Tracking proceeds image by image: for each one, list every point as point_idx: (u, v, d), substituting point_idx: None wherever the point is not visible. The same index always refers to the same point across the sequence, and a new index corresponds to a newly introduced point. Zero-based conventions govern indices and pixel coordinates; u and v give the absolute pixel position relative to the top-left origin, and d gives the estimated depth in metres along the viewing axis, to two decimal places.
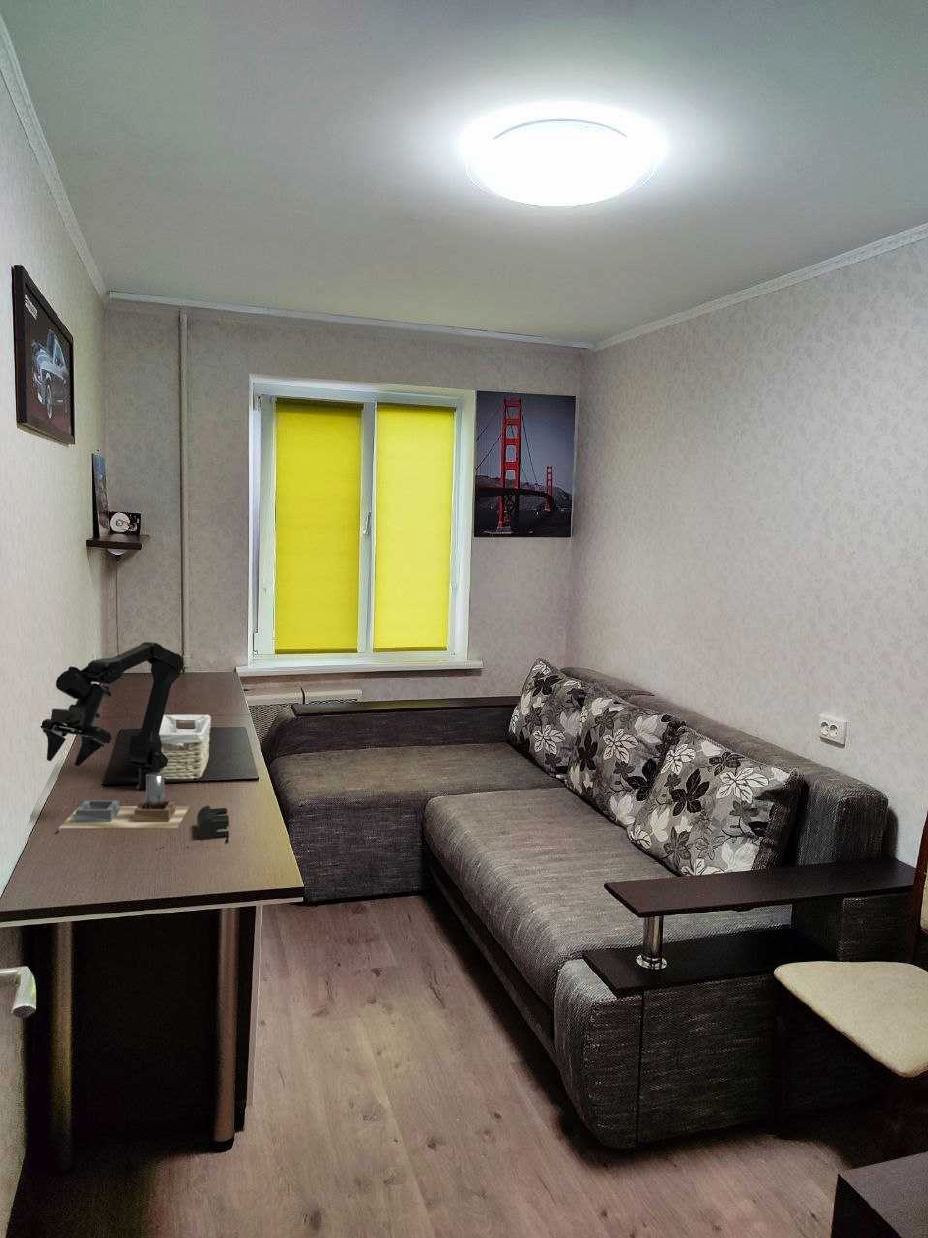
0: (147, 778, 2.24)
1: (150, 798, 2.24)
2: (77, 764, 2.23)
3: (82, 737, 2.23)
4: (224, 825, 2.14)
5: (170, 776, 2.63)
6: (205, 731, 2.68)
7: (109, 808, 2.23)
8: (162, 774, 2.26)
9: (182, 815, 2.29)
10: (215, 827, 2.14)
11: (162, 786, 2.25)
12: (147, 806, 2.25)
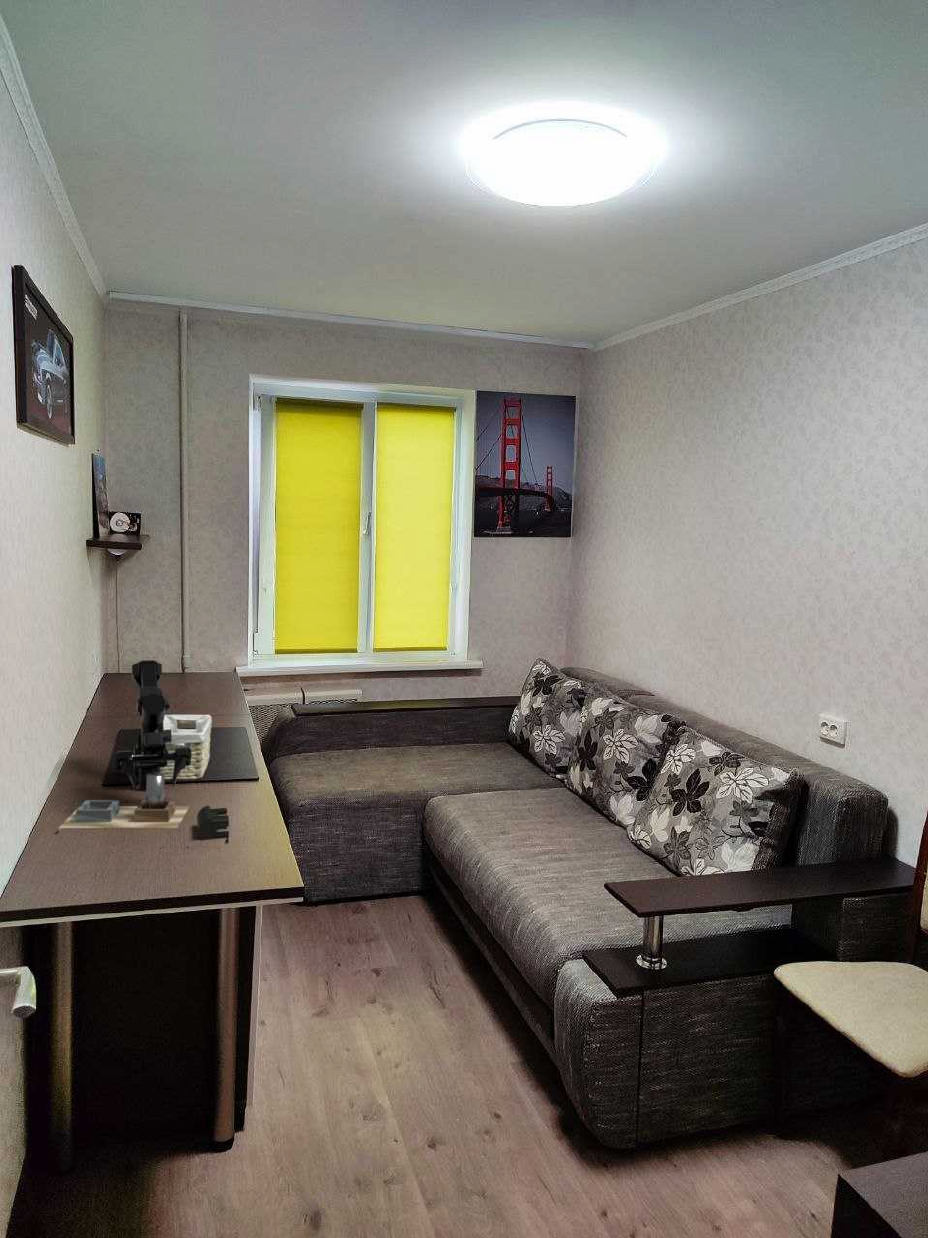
0: (147, 778, 2.24)
1: (150, 798, 2.24)
2: (174, 784, 2.31)
3: (176, 757, 2.32)
4: (224, 825, 2.14)
5: (171, 776, 2.63)
6: (206, 731, 2.68)
7: (109, 808, 2.23)
8: (162, 774, 2.26)
9: (182, 815, 2.29)
10: (215, 827, 2.14)
11: (162, 786, 2.25)
12: (147, 806, 2.25)
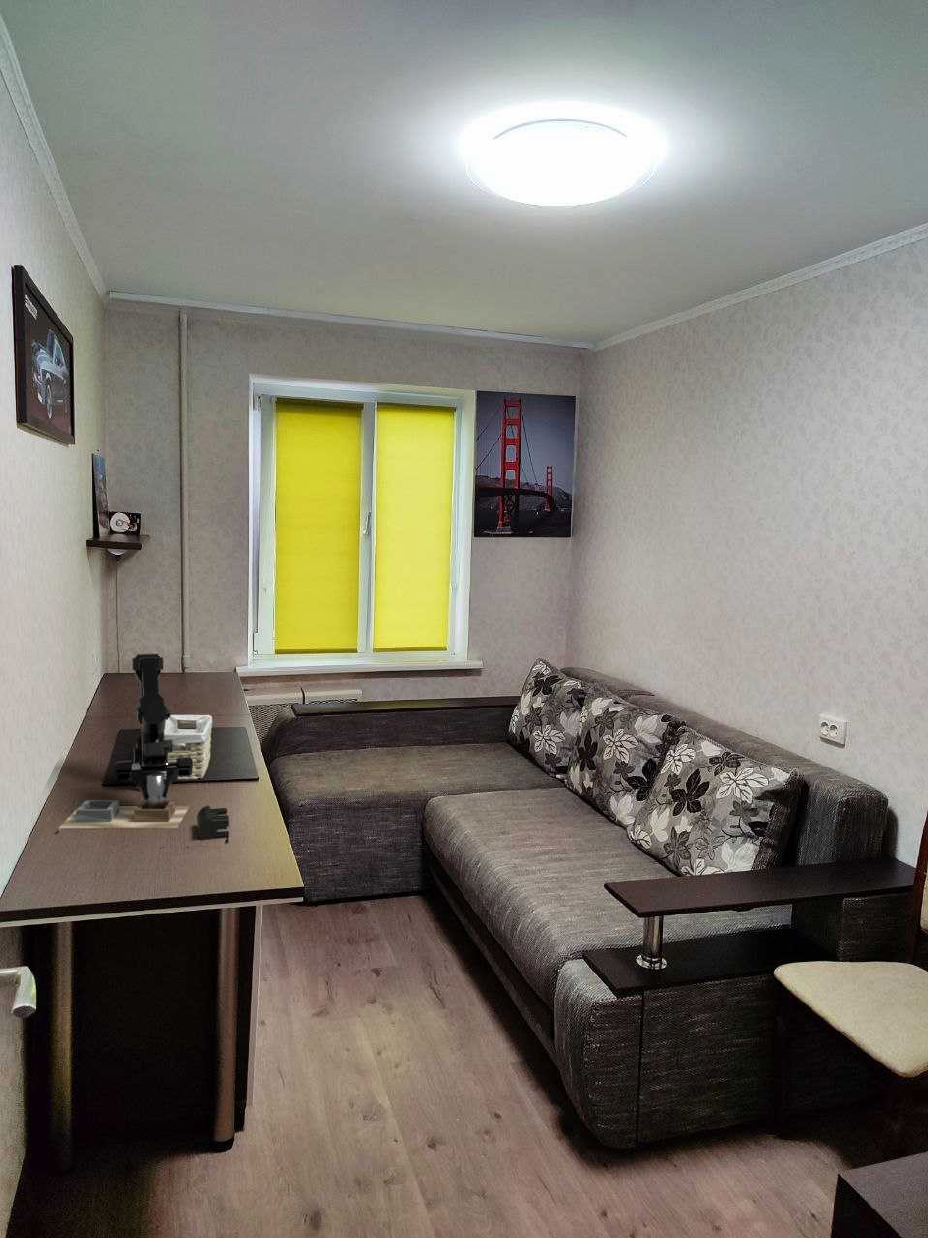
0: (147, 778, 2.24)
1: (150, 798, 2.24)
2: (166, 795, 2.26)
3: (168, 768, 2.28)
4: (224, 825, 2.14)
5: None
6: (207, 731, 2.68)
7: (109, 808, 2.23)
8: (162, 774, 2.26)
9: (182, 815, 2.29)
10: (215, 827, 2.14)
11: (162, 786, 2.25)
12: (147, 806, 2.25)
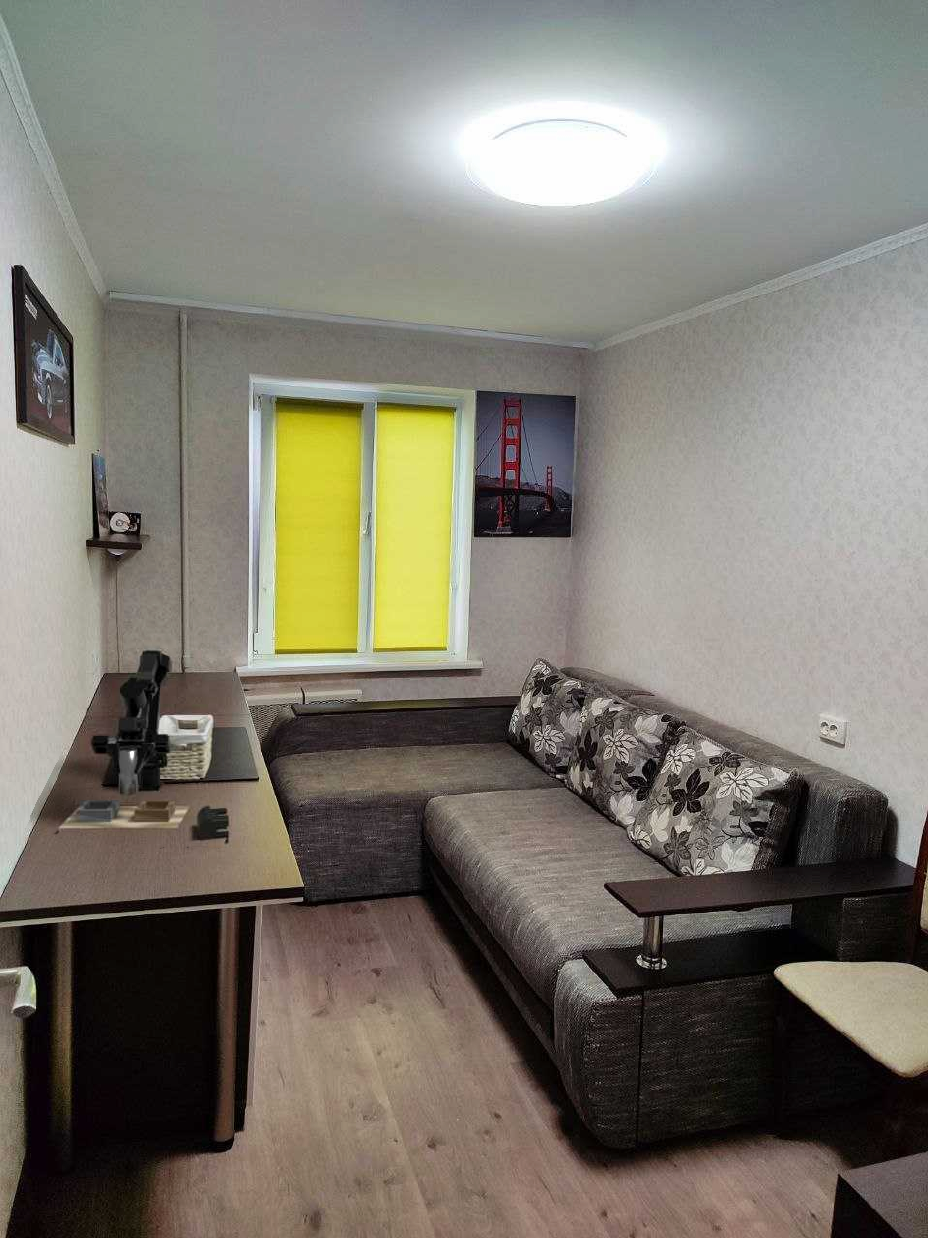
0: (119, 753, 2.22)
1: (121, 773, 2.22)
2: (137, 772, 2.23)
3: (142, 744, 2.25)
4: (224, 825, 2.14)
5: (173, 776, 2.62)
6: (208, 731, 2.67)
7: (109, 808, 2.23)
8: (135, 750, 2.23)
9: (182, 815, 2.29)
10: (215, 827, 2.14)
11: (133, 762, 2.23)
12: (119, 781, 2.23)
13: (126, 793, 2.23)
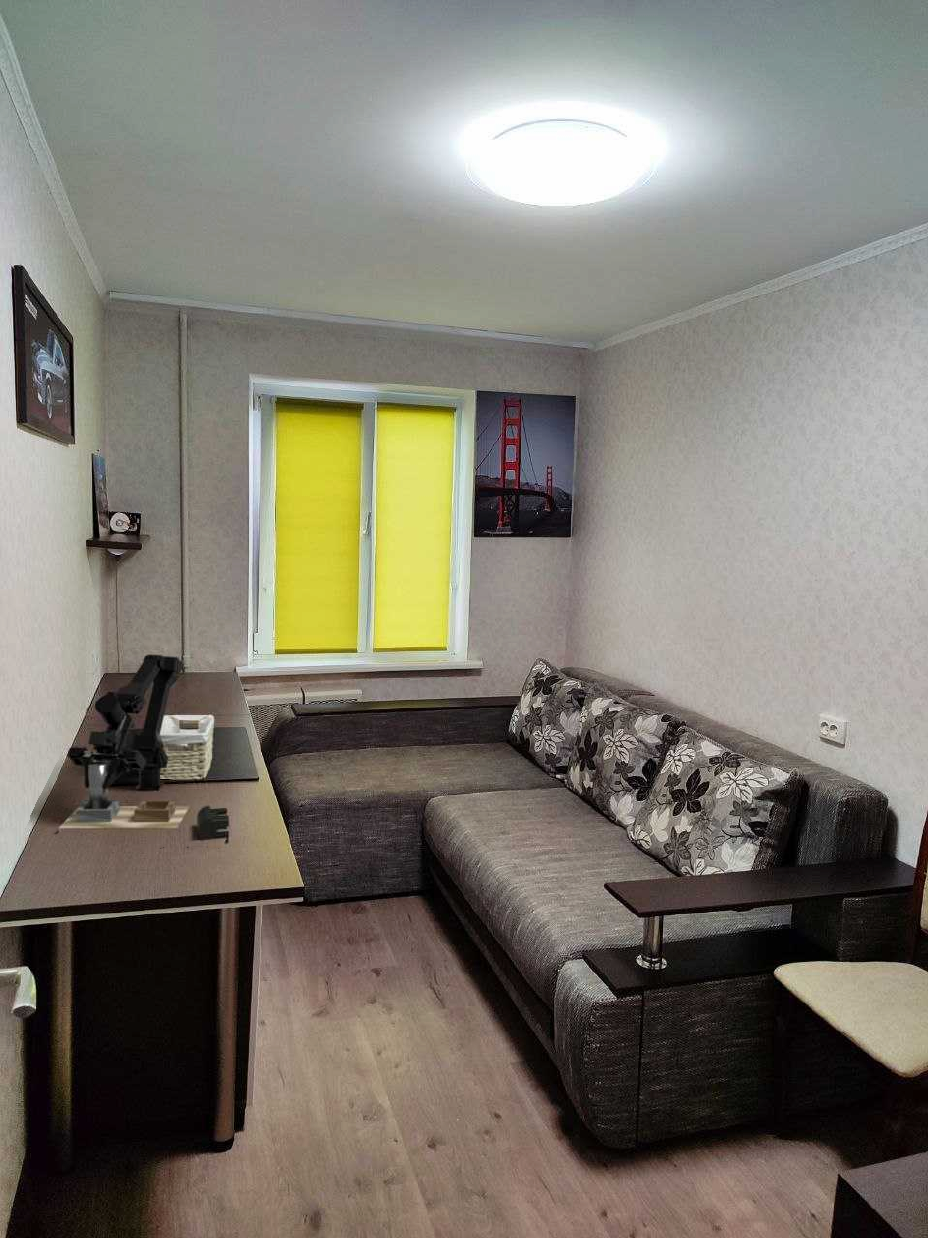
0: (88, 766, 2.23)
1: (89, 786, 2.23)
2: (105, 786, 2.23)
3: (112, 759, 2.25)
4: (224, 825, 2.14)
5: (174, 776, 2.62)
6: (209, 731, 2.67)
7: (109, 808, 2.23)
8: (103, 764, 2.24)
9: (182, 815, 2.29)
10: (215, 827, 2.14)
11: (101, 776, 2.23)
12: (89, 794, 2.24)
13: (93, 807, 2.23)
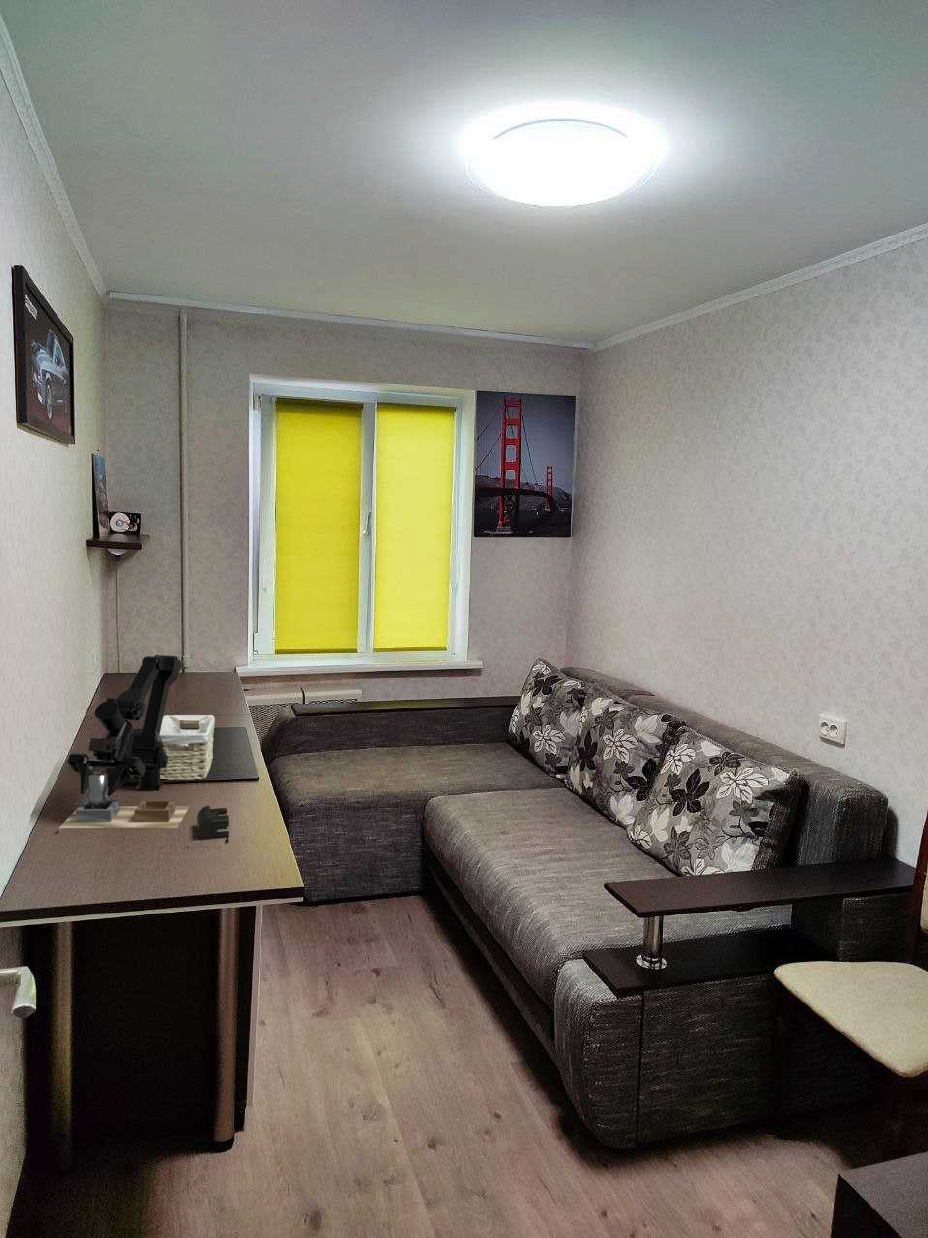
0: None
1: (89, 797, 2.23)
2: (109, 793, 2.23)
3: (116, 766, 2.25)
4: (224, 825, 2.14)
5: (175, 777, 2.62)
6: (210, 731, 2.67)
7: (109, 808, 2.23)
8: (104, 774, 2.24)
9: (182, 815, 2.29)
10: (215, 827, 2.14)
11: (101, 787, 2.23)
12: (89, 805, 2.24)
13: None
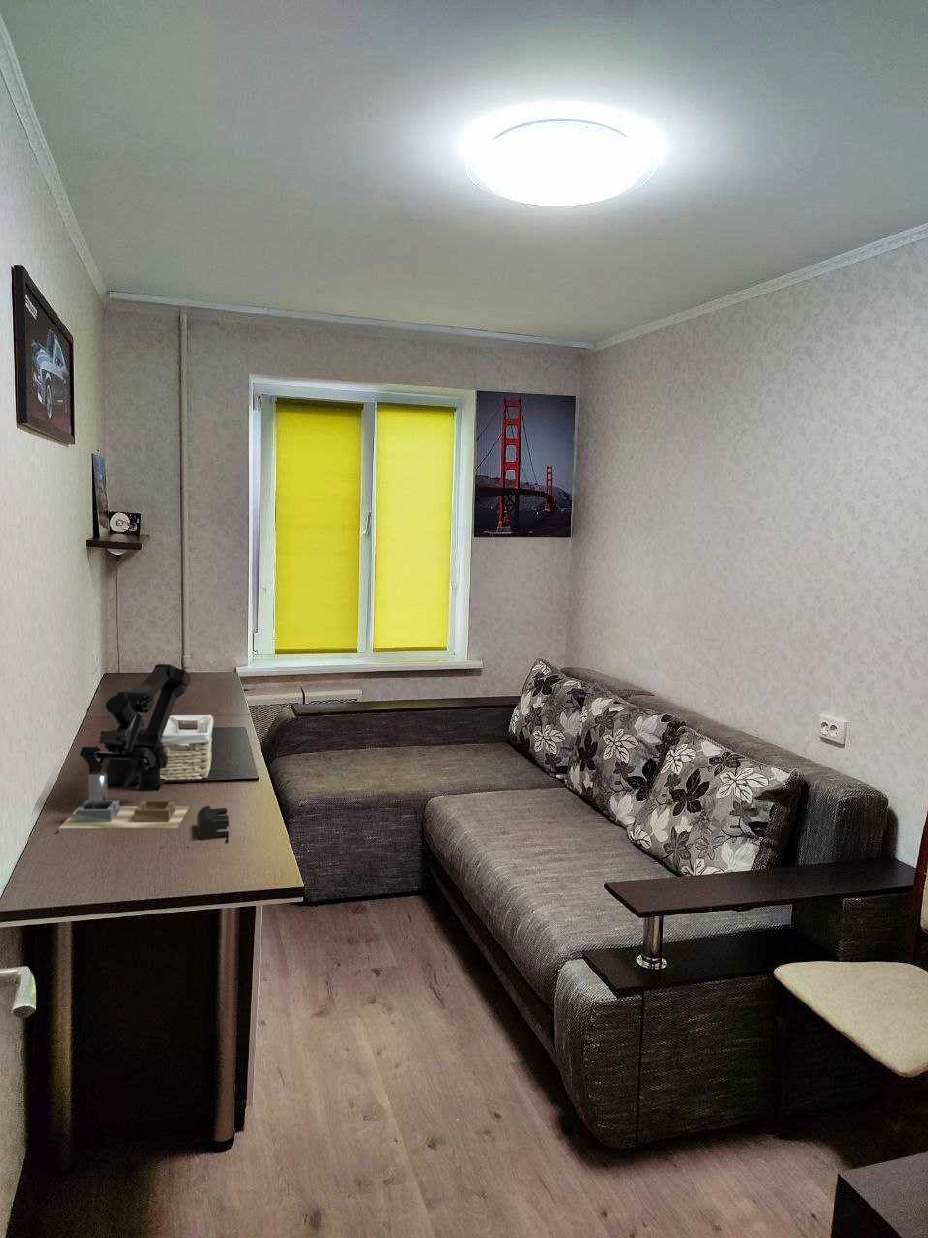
0: None
1: (89, 797, 2.23)
2: (125, 784, 2.29)
3: (131, 758, 2.30)
4: (224, 825, 2.14)
5: (176, 777, 2.62)
6: None
7: (109, 808, 2.23)
8: (104, 775, 2.24)
9: (182, 815, 2.29)
10: (215, 827, 2.14)
11: (101, 787, 2.23)
12: (89, 805, 2.24)
13: None
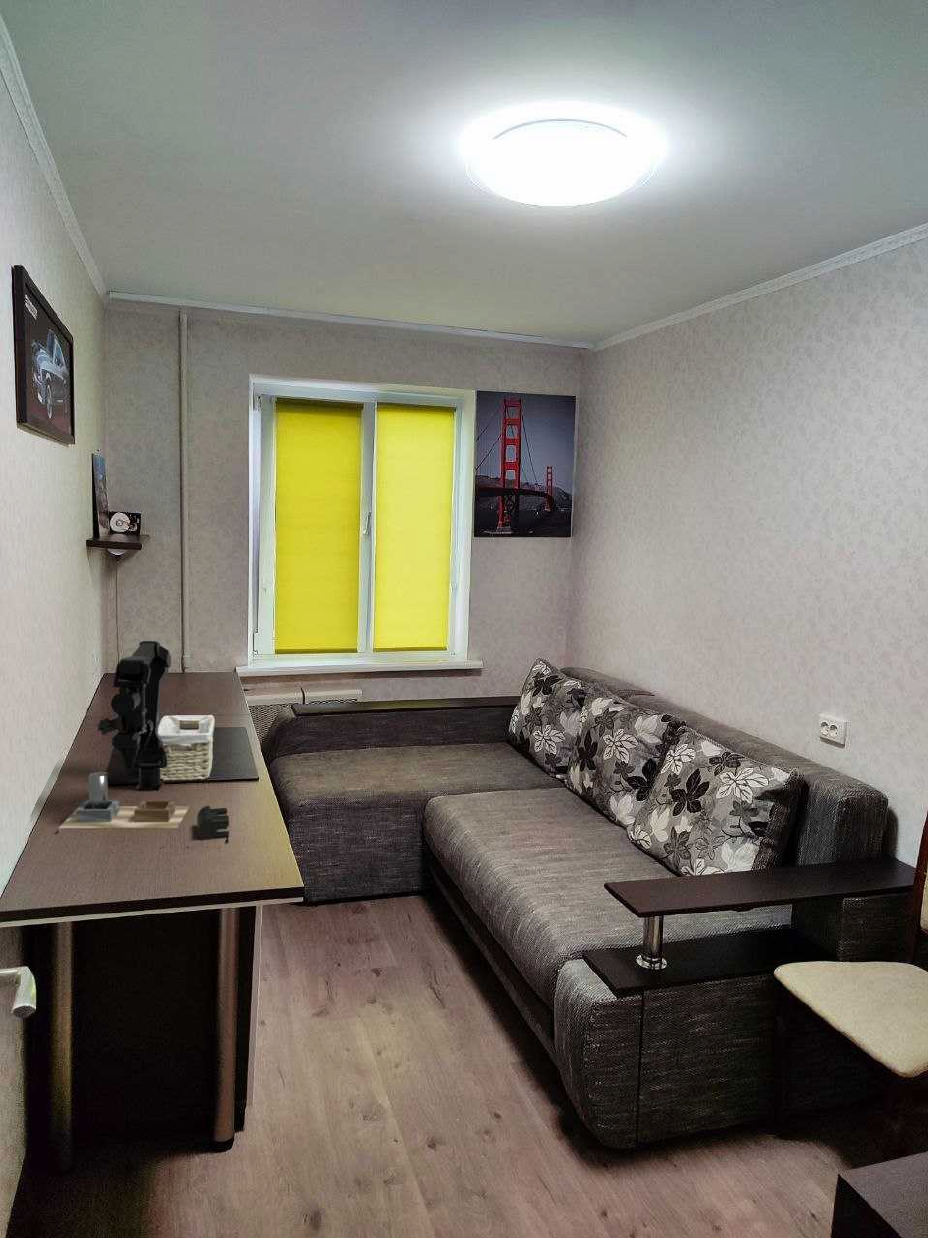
0: None
1: (89, 797, 2.23)
2: (128, 767, 2.31)
3: None
4: (224, 825, 2.14)
5: (178, 777, 2.62)
6: (212, 731, 2.68)
7: (109, 808, 2.23)
8: (104, 775, 2.24)
9: (182, 815, 2.29)
10: (215, 827, 2.14)
11: (101, 787, 2.23)
12: (89, 805, 2.24)
13: None
